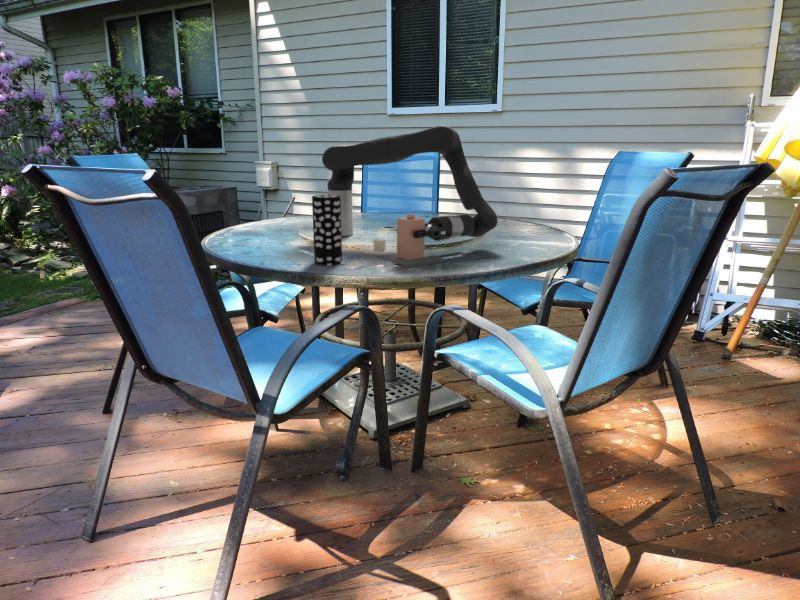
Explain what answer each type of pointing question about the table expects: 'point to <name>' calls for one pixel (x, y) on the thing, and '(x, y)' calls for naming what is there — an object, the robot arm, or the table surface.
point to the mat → (414, 262)
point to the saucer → (371, 250)
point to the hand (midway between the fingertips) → (405, 232)
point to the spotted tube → (327, 229)
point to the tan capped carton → (410, 237)
